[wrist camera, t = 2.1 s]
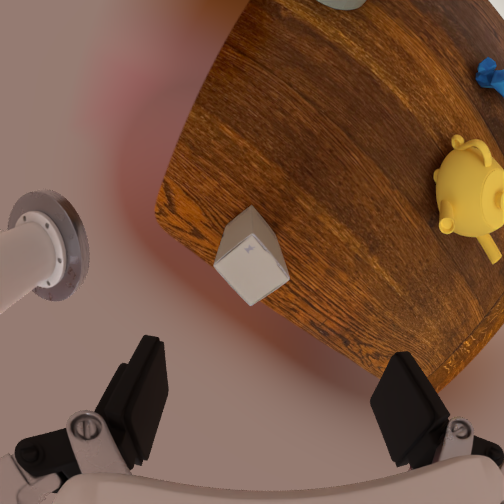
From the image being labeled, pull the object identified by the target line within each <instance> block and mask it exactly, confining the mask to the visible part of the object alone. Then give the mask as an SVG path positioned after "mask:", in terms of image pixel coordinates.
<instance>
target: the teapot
mask: <svg viewBox="0 0 504 504" xmlns="http://www.w3.org/2000/svg"><path fill="white" fill-rule="evenodd" d="M451 143H452V147H453V148H454V150H452V151H451V152H450V153H449V154H448V155H447V156H446V157H445V159H444V160H443V162H442V164H441V166H440V169H436V170H435V172H434V181H435V182H436V198H437V204H438V208H439V212H440V217H439V228H440V230H441V232H443V233H445V234H450V233H452V232H455V233H457V234H459V235H462V236H467V237H476V238H477V239H478V241H479V243H480V244H481V246H482V248H483V249H484V251H485V253H486V254H487V256H488V258H489V259H490V261H491V263H492V264H494V263H496V262H497V261H498V260H499V259H500V258H501V257H502V255H501V253H500V251H499V249H498V248H497V246H496V244H495V243H494V241H493V239H492V237H491V236H490V234H489V233H491V232H493V231H495V230H497V229H498V228H500V227H501V226H502V225H503V224H504V170H503V169H502V167H501V166H500V165H499V164H498V163H497V162H496V160H494V159H493V158H492V157H491V153H490V150H489V149H488V147H487V145H486V144H485V143H484V142H483V141H481V140H479V139H473V140H470V141H467V142H466V143H464V139H463V138H462V137H461V136H460V135H454V136H453V137H452V140H451ZM472 146H475V147H477V148H478V149H477V148H474V147H472Z"/></svg>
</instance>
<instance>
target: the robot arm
mask: <svg viewBox="0 0 504 504" xmlns="http://www.w3.org/2000/svg"><path fill="white" fill-rule="evenodd" d="M66 260H67V257H66V249H65V245H64V241H63V238H62V236H61V233H60V231H59V229H58V228H57V226H56V225H55V223H54V222H53V221H52V220H51V218H50V217H49V216H47V215H46V214H45V213H42V212H40V211H35V210H34V211H29V212H26V213H24V214H23V215H22V216H21V217H20V218H19V219H18V221H17V223H16V225H15V228H12V229H10V230H8V231H3V230H1V229H0V314H2V313H3V312H4V311H5V310H7V309H8V308H9V307H10V306H12V305H13V304H14V303H15V302H17V301H18V300H19V299H21V298H22V297H23V296H25V295H26V294H27V293H29V292H30V291H31V290H33V289H34V288H35V287H37V286H39V287H42V288H50V287H53V286H54V285H56V284H57V283H58V282H60V281H61V279H62V278H63V276H64V273H65V270H66ZM167 396H168V380H167V371H166V361H165V350H164V342H162V341H160V340H159V338H158V337H154V336H148V335H144V336H143V338H142V339H141V341H140V343H139V345H138V347H137V349H136V350H135V352H134V354H133V356H132V358H131V359H130V361H129V363H128V364H126V363H122V364H120V366H119V367H118V369H117V371H116V373H115V374H114V376H113V378H112V380H111V381H110V383H109V385H108V387H107V389H106V391H105V392H104V394H103V396H102V398H101V400H100V402H99V404H98V405H97V407H96V409H95V411H94V412H93V411H88V410H85V411H79V412H76V413H74V414H73V415H71V416H70V418H69V419H68V421H67V424H66V428H64V429H60V430H57V431H53V432H49V433H46V434H42V435H38V436H33V437H29V438H26V439H23V440H21V441H20V442H19V443H18V444H17V446H16V448H15V454H13V455H10V454H9V453H8V454H6V455H5V456H3V457H1V458H0V504H40V502H42V501H43V500H45V499H46V498H45V496H47V495H48V494H50V493H51V492H52V493H57V495H56V496H55V498H54V500H53V502H52V504H504V453H503V451H502V449H501V447H500V446H499V445H497V444H495V443H492V442H490V441H487V440H485V439H482V438H479V437H477V436H474V429H473V426H472V424H471V423H470V422H469V421H468V420H467V419H465V418H463V417H454V418H452V419H451V420H450V421H449V420H448V417H449V416H450V413H449V412H448V410H447V409H446V407H445V405H444V404H443V402H442V401H441V399H440V397H439V396H438V394H437V393H436V391H435V389H434V388H433V386H432V385H431V383H430V382H429V380H428V379H427V377H426V376H425V374H424V373H423V371H422V370H421V368H420V367H419V365H418V364H417V362H416V361H415V359H414V358H413V356H412V355H411V353H410V352H408V351H405V352H396V353H395V354H394V356H392V357H391V359H390V361H389V363H388V365H387V367H386V369H385V371H384V373H383V375H382V377H381V379H380V381H379V384H378V385H377V387H376V389H375V391H374V393H373V395H372V397H371V399H370V404H371V407H372V409H373V412H374V414H375V417H376V420H377V422H378V425H379V427H380V430H381V432H382V435H383V438H384V440H385V443H386V446H387V448H388V451H389V454H390V456H391V459H392V461H394V462H395V463H396V466H397V467H400V466H403V465H407V464H408V463H409V464H410V468H409V471H407V472H404V473H400V474H397V475H393V476H389V477H385V478H381V479H376V480H371V481H366V482H361V483H355V484H350V485H343V486H336V487H329V488H319V489H308V490H292V491H247V490H230V489H219V488H210V487H201V486H193V485H186V484H180V483H175V482H169V481H164V480H158V479H152V478H147V477H143V476H136V475H132V474H131V472H130V470H131V469H133V467H134V464H136V465H140V466H142V462H143V460H148V458H149V454H150V452H151V448H152V445H153V441H154V438H155V434H156V432H157V428H158V425H159V422H160V419H161V415H162V412H163V409H164V405H165V402H166V399H167Z"/></svg>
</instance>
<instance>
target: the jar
mask: <svg viewBox="0 0 504 504" xmlns="http://www.w3.org/2000/svg"><path fill="white" fill-rule="evenodd" d="M317 1H319V2H320V3H322V4H324V5H326V6H329V7H332V8H335V9H340V10H352V9H356V8H359V7H360V6H361V5H362V4H363V3H364V2H365V1H366V0H317Z"/></svg>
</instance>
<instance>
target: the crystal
mask: <svg viewBox="0 0 504 504" xmlns="http://www.w3.org/2000/svg"><path fill="white" fill-rule="evenodd" d="M495 68H496V62H495V61H494V60H492V59H491V58H489V57H487V58H486V59H485V60H483V61H482V62H481V63H480V64H479V65H478V68H477V69H478V73H476V81H477V82H478V84H479V85H480V86H481V87H485V88H494V89H495V90H496V91H497V92H499V93H500V94H501V95H502V96H503V97H504V70H495ZM494 70H495V71H494Z"/></svg>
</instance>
